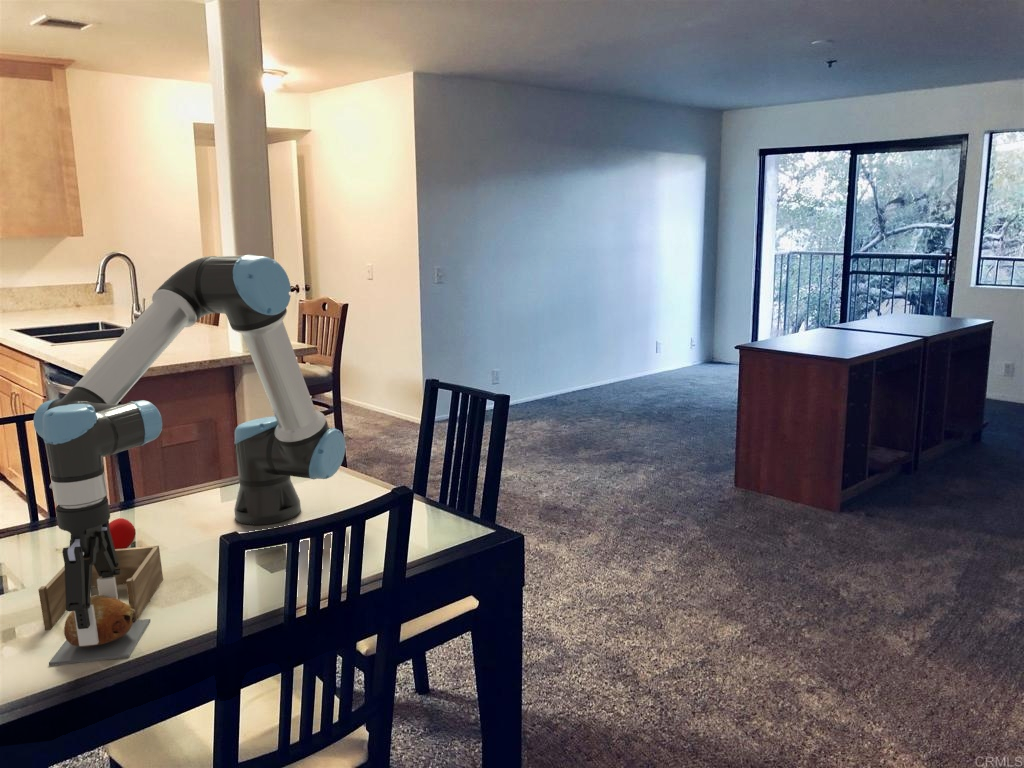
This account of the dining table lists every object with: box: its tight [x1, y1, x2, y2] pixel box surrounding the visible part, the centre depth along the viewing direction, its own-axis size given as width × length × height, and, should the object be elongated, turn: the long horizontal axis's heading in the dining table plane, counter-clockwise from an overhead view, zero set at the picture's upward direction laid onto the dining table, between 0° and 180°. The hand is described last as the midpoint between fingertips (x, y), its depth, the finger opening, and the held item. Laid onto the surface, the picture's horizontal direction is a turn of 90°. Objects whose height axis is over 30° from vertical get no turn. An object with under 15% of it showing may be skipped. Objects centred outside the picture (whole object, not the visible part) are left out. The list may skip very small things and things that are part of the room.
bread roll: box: [63, 594, 136, 647], centre depth 133 cm, size 10×10×8 cm
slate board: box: [48, 618, 151, 666], centre depth 134 cm, size 12×12×1 cm
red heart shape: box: [109, 517, 137, 549], centre depth 163 cm, size 9×7×10 cm
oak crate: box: [38, 545, 164, 631], centre depth 147 cm, size 15×17×8 cm
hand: (100, 628), depth 133 cm, fingers closed on bread roll, 10 cm apart
